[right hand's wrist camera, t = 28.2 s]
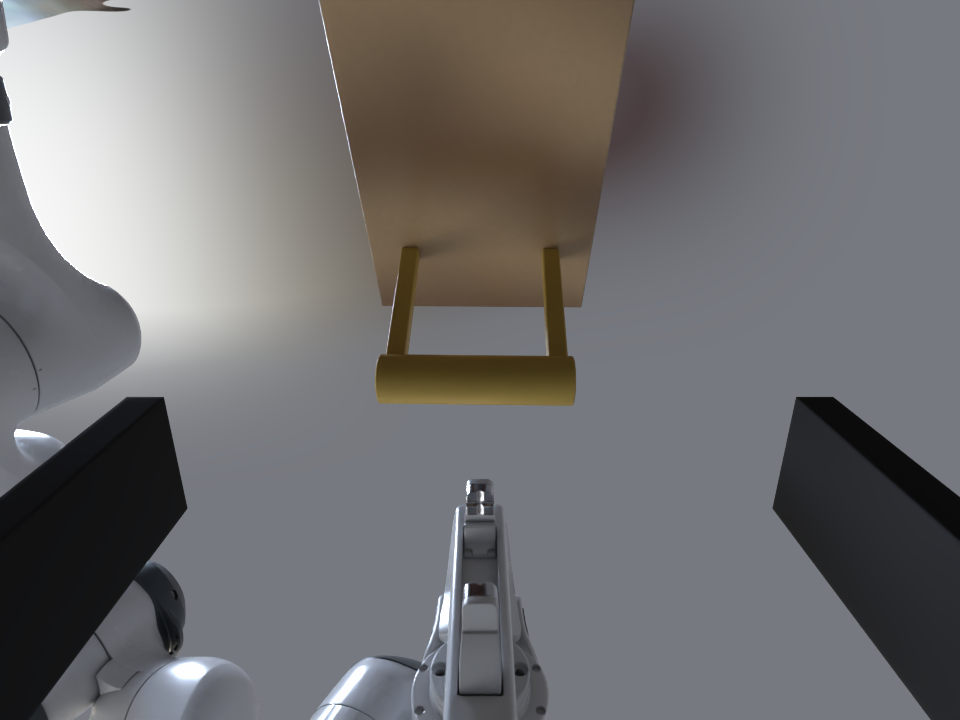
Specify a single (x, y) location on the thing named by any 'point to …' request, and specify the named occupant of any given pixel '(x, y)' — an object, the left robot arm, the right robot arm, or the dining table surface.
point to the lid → (478, 171)
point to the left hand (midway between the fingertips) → (480, 531)
